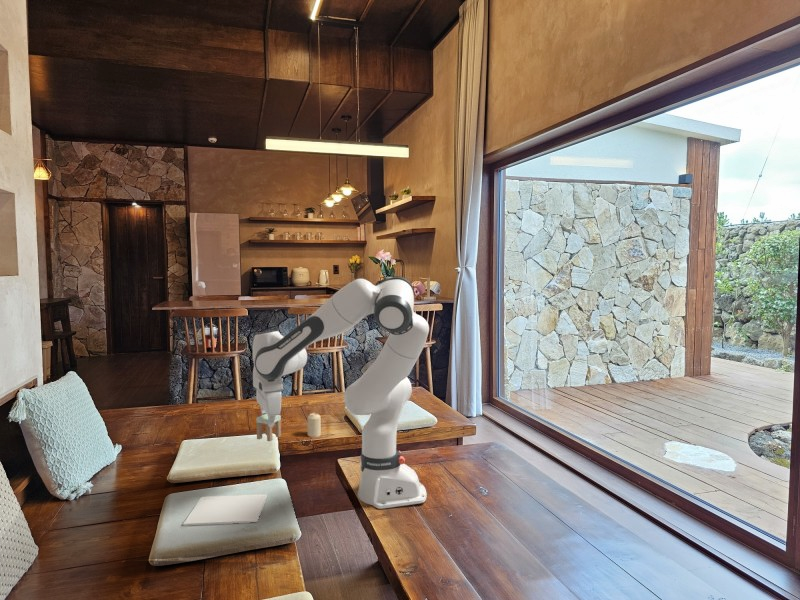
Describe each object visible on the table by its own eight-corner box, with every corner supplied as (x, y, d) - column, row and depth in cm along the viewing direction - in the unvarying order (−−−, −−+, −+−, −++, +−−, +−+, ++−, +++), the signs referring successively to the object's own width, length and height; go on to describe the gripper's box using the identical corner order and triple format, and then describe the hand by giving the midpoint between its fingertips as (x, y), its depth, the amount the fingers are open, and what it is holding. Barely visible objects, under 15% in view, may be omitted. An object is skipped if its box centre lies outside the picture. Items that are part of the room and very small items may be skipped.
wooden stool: (281, 436, 160) (280, 415, 160) (270, 441, 155) (269, 419, 155) (268, 433, 163) (267, 413, 162) (256, 438, 158) (256, 417, 157)
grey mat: (267, 496, 152) (267, 494, 152) (257, 522, 136) (257, 520, 136) (201, 498, 150) (201, 496, 150) (183, 525, 134) (183, 523, 134)
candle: (318, 439, 203) (317, 416, 202) (305, 438, 204) (305, 415, 203) (322, 435, 208) (322, 412, 207) (310, 434, 209) (310, 411, 208)
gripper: (251, 375, 166) (252, 415, 166) (263, 388, 147) (264, 432, 148) (270, 373, 168) (270, 412, 169) (284, 385, 150) (285, 429, 151)
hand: (267, 422), depth 159 cm, fingers closed on wooden stool, 8 cm apart
